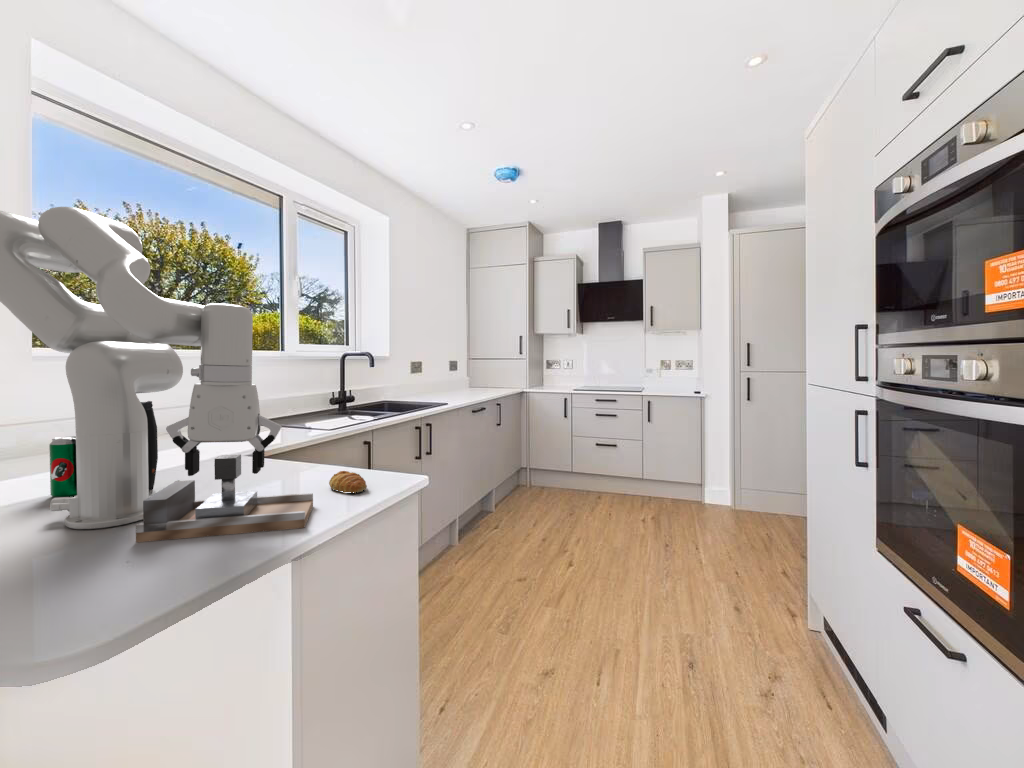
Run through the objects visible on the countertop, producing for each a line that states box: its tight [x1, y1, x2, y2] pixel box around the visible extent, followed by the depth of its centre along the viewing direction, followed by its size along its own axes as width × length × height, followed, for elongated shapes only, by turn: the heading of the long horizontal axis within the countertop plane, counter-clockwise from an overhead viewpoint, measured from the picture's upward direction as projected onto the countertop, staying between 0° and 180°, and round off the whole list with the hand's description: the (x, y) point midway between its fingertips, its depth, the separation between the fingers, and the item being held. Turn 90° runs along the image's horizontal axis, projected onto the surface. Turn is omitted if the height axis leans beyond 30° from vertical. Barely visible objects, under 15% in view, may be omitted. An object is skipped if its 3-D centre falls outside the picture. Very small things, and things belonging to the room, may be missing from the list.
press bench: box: [135, 479, 314, 543], centre depth 78 cm, size 24×12×6 cm, turn 108°
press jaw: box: [195, 454, 258, 519], centre depth 77 cm, size 7×9×10 cm
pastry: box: [328, 470, 368, 494], centre depth 99 cm, size 9×7×4 cm
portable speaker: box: [140, 400, 159, 491], centre depth 93 cm, size 9×9×20 cm
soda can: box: [48, 435, 77, 498], centre depth 91 cm, size 5×5×12 cm
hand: (225, 472), depth 77 cm, fingers open, 9 cm apart
